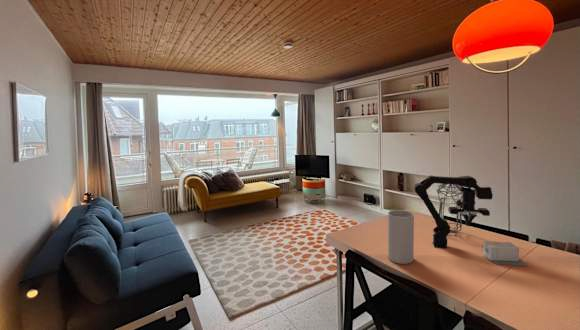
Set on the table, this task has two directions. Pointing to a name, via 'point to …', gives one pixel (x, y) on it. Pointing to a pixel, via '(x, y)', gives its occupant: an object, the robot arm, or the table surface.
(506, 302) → the table surface
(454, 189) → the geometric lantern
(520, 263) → the mat
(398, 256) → the cylinder vase
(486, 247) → the supplement box
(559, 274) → the table surface
